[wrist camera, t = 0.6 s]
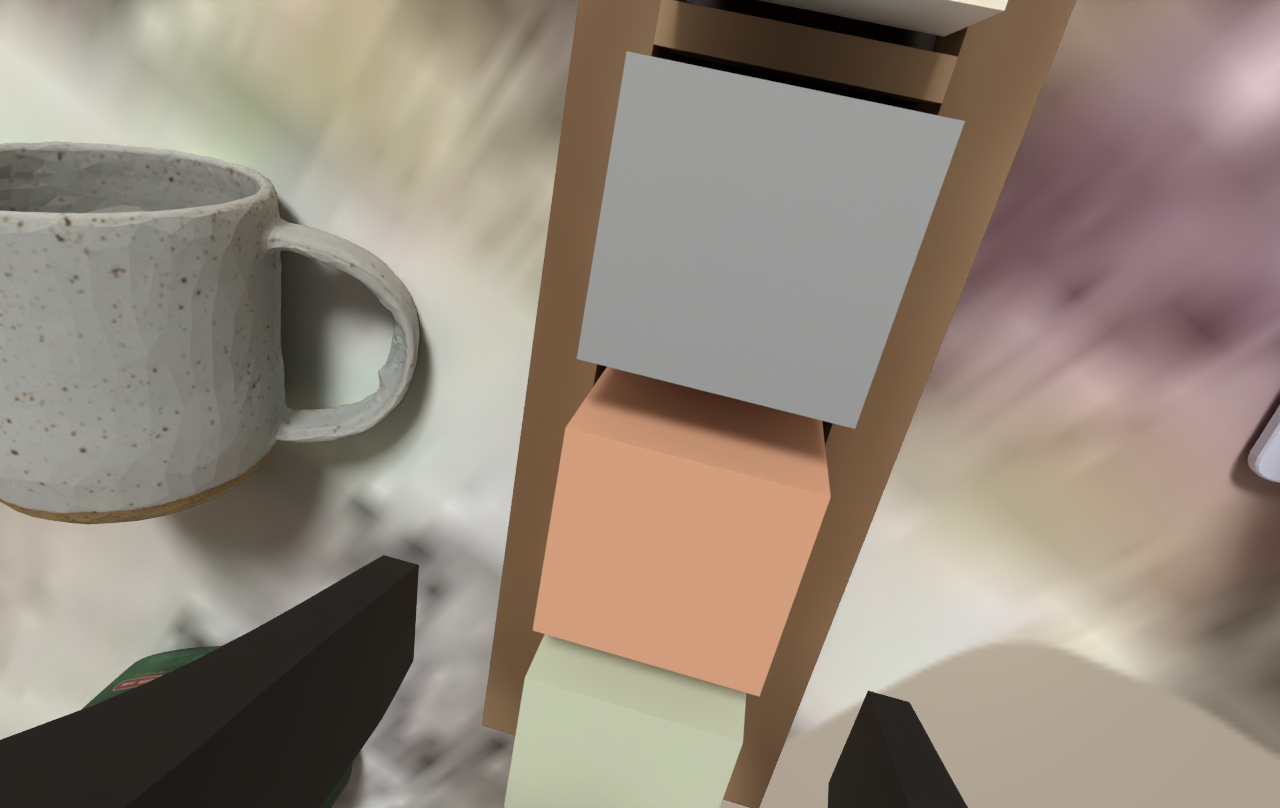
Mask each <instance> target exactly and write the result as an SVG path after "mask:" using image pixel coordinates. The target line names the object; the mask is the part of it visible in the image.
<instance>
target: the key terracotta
mask: <svg viewBox="0 0 1280 808" xmlns="http://www.w3.org/2000/svg"><path fill="white" fill-rule="evenodd" d="M830 498H831V495H830V486H829V477H828V468H827V460H826V451H825V442H824V433H823V424H822V420H818V419H814V418H810V417H806V416H802V415H798V414H794V413H790V412H786V411H782V410H778V409H774V408H770V407H766V406H762V405H758V404H754V403H750V402H746V401H742V400H738V399H734V398H730V397H726V396H722V395H718V394H714V393H710V392H706V391H702V390H698V389H694V388H690V387H686V386H682V385H678V384H674V383H671V382H667V381H663V380H659V379H655V378H651V377H647V376H643V375H639V374H635V373H631V372H627V371H623V370H619V369H615V368H611V367H607V368H606V369H605V371H604V372H603V374H602V375H601V376H600V378H599V379H598V381H597V382H596V384H595V385H594V387H593V388H592V390H591V391H590V393H589V394H588V395H587V397H586V398H585V400H584V401H583V403H582V404H581V406H580V407H579V409H578V410H577V412H576V413H575V414H574V416H573V417H572V419H571V420H570V422H569V423H568V425H567V426H566V428H565V434H564V440H563V446H562V452H561V458H560V464H559V471H558V477H557V483H556V489H555V495H554V501H553V508H552V514H551V520H550V526H549V532H548V538H547V544H546V551H545V557H544V563H543V569H542V575H541V581H540V588H539V594H538V600H537V606H536V612H535V618H534V624H533V631H536V632H540V633H543V634H546V635H550V636H553V637H557V638H560V639H564V640H567V641H570V642H574V643H577V644H581V645H584V646H588V647H591V648H594V649H598V650H601V651H605V652H608V653H612V654H615V655H618V656H622V657H625V658H629V659H632V660H636V661H639V662H642V663H646V664H649V665H653V666H656V667H660V668H663V669H666V670H670V671H673V672H677V673H680V674H684V675H687V676H690V677H694V678H697V679H701V680H704V681H708V682H711V683H714V684H718V685H721V686H725V687H728V688H732V689H735V690H738V691H742V692H745V693H749V694H752V695H756V696H760V694H761V691H762V688H763V685H764V682H765V680H766V677H767V674H768V671H769V668H770V666H771V663H772V660H773V657H774V654H775V652H776V649H777V646H778V643H779V640H780V638H781V635H782V632H783V629H784V626H785V624H786V621H787V618H788V615H789V612H790V610H791V607H792V604H793V601H794V598H795V596H796V593H797V590H798V587H799V584H800V582H801V579H802V576H803V573H804V570H805V568H806V565H807V562H808V559H809V557H810V554H811V551H812V548H813V545H814V543H815V540H816V537H817V534H818V531H819V529H820V526H821V523H822V520H823V517H824V515H825V512H826V509H827V506H828V503H829V501H830Z"/></svg>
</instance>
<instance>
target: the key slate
mask: <svg viewBox="0 0 1280 808" xmlns="http://www.w3.org/2000/svg"><path fill="white" fill-rule="evenodd" d="M964 123H965V121H962V120H957V119H952V118H947V117H943V116H938V115H933V114H928V113H923V112H918V111H914V110H909V109H904V108H899V107H894V106H889V105H885V104H880V103H875V102H870V101H865V100H860V99H855V98H851V97H846V96H841V95H836V94H831V93H826V92H822V91H817V90H812V89H807V88H802V87H797V86H792V85H788V84H783V83H778V82H773V81H768V80H763V79H759V78H754V77H749V76H744V75H739V74H734V73H730V72H725V71H720V70H715V69H710V68H705V67H700V66H696V65H691V64H686V63H681V62H676V61H671V60H667V59H662V58H657V57H652V56H647V55H642V54H637V53H633V52H628V51H627V52H626V58H625V65H624V71H623V77H622V83H621V89H620V95H619V102H618V108H617V114H616V120H615V126H614V132H613V138H612V145H611V151H610V157H609V163H608V169H607V175H606V182H605V188H604V194H603V200H602V206H601V212H600V218H599V225H598V231H597V237H596V243H595V249H594V255H593V261H592V268H591V274H590V280H589V286H588V292H587V298H586V305H585V311H584V317H583V323H582V329H581V335H580V341H579V348H578V354H577V359H579V360H583V361H587V362H591V363H595V364H599V365H603V366H607V367H611V368H615V369H619V370H623V371H627V372H631V373H635V374H639V375H643V376H647V377H651V378H655V379H659V380H663V381H667V382H671V383H674V384H678V385H682V386H686V387H690V388H694V389H698V390H702V391H706V392H710V393H714V394H718V395H722V396H726V397H730V398H734V399H738V400H742V401H746V402H750V403H754V404H758V405H762V406H766V407H770V408H774V409H778V410H782V411H786V412H790V413H794V414H798V415H802V416H806V417H810V418H814V419H818V420H822V421H826V422H830V423H834V424H838V425H842V426H846V427H850V428H854V429H855V428H856V425H857V422H858V419H859V417H860V414H861V411H862V408H863V405H864V403H865V400H866V397H867V394H868V391H869V389H870V386H871V383H872V380H873V377H874V375H875V372H876V369H877V366H878V363H879V361H880V358H881V355H882V352H883V349H884V347H885V344H886V341H887V338H888V335H889V333H890V330H891V327H892V324H893V321H894V319H895V316H896V313H897V310H898V307H899V305H900V302H901V299H902V296H903V293H904V291H905V288H906V285H907V282H908V279H909V277H910V274H911V271H912V268H913V265H914V263H915V260H916V257H917V254H918V251H919V249H920V246H921V243H922V240H923V237H924V235H925V232H926V229H927V226H928V223H929V221H930V218H931V215H932V212H933V209H934V207H935V204H936V201H937V198H938V195H939V193H940V190H941V187H942V184H943V181H944V179H945V176H946V173H947V170H948V167H949V165H950V162H951V159H952V156H953V153H954V151H955V148H956V145H957V142H958V139H959V137H960V134H961V131H962V128H963V125H964Z"/></svg>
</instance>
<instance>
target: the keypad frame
mask: <svg viewBox="0 0 1280 808" xmlns="http://www.w3.org/2000/svg"><path fill="white" fill-rule="evenodd" d="M1075 3H1076V0H1008V2H1007V5H1006V8H1005V11H1003V12H1000V13H998V14H996V15H993V16H991V17H989V18H986V19H984V20H982V21H980V22H977V23H975V24H973V25H970V26H968V27H966V28H963V29H961V30H959V31H956V32H954V33H952V34H949V35H947V36H945V37H943V36H938V37H937V40H936V43H935V46H934V49H933V52H932V51H927V50H922V49H917V48H912V47H907V46H902V45H896V44H891V43H886V42H881V41H876V40H871V39H866V38H861V37H856V36H851V35H846V34H841V33H836V32H831V31H826V30H821V29H816V28H811V27H806V26H801V25H795V24H790V23H785V22H780V21H775V20H770V19H765V18H760V17H755V16H750V15H745V14H740V13H735V12H730V11H725V10H720V9H715V8H710V7H705V6H700V5H694V4H689V3H685V0H579V2H578V9H577V17H576V24H575V32H574V39H573V47H572V54H571V62H570V69H569V77H568V84H567V92H566V99H565V107H564V114H563V122H562V129H561V137H560V144H559V152H558V159H557V167H556V174H555V182H554V189H553V197H552V204H551V212H550V219H549V227H548V234H547V242H546V250H545V257H544V265H543V272H542V280H541V287H540V295H539V302H538V310H537V317H536V325H535V332H534V340H533V347H532V355H531V362H530V370H529V377H528V385H527V392H526V400H525V407H524V415H523V422H522V430H521V437H520V445H519V452H518V460H517V467H516V475H515V482H514V490H513V497H512V505H511V512H510V520H509V527H508V535H507V542H506V550H505V557H504V565H503V572H502V580H501V587H500V595H499V602H498V610H497V617H496V625H495V632H494V640H493V647H492V655H491V662H490V670H489V677H488V685H487V692H486V700H485V707H484V715H483V722H482V725H483V726H486V727H489V728H493V729H496V730H499V731H502V732H506V733H509V734H512V735H516V729H517V723H518V717H519V711H520V704H521V698H522V692H523V686H524V680H525V676H526V674H527V672H528V670H529V667H530V665H531V663H532V661H533V659H534V657H535V654H536V652H537V650H538V648H539V646H540V643H541V641H542V639H543V637H544V635H545V634H543V633H540V632H536V631H533V624H534V618H535V612H536V606H537V600H538V594H539V588H540V581H541V575H542V569H543V563H544V557H545V551H546V544H547V538H548V532H549V526H550V520H551V514H552V508H553V501H554V495H555V489H556V483H557V477H558V471H559V464H560V458H561V452H562V446H563V440H564V434H565V428H566V426H567V425H568V423H569V422H570V420H571V419H572V417H573V416H574V414H575V413H576V412H577V410H578V409H579V407H580V406H581V404H582V403H583V401H584V400H585V398H586V397H587V395H588V394H589V393H590V391H591V390H592V388H593V387H594V385H595V384H596V382H597V381H598V379H599V378H600V376H601V375H602V374H603V372H604V371H605V369H606V368H607V366H603V365H599V364H595V363H591V362H587V361H583V360H579V359H577V354H578V348H579V341H580V335H581V329H582V323H583V317H584V311H585V305H586V298H587V292H588V286H589V280H590V274H591V268H592V261H593V255H594V249H595V243H596V237H597V231H598V225H599V218H600V212H601V206H602V200H603V194H604V188H605V182H606V175H607V169H608V163H609V157H610V151H611V145H612V138H613V132H614V126H615V120H616V114H617V108H618V102H619V95H620V89H621V83H622V77H623V71H624V65H625V58H626V52H627V51H628V52H633V53H637V54H642V55H647V56H652V57H657V58H662V59H667V60H671V61H674V58H675V54H677V55H681V56H686V57H691V58H696V59H701V60H706V61H711V62H715V63H720V64H725V65H730V66H735V67H740V68H745V69H750V70H754V71H759V72H764V73H769V74H774V75H779V76H784V77H788V78H793V79H798V80H803V81H808V82H813V83H818V84H823V85H827V86H832V87H837V88H842V89H847V90H852V91H857V92H861V93H866V94H871V95H876V96H881V97H886V98H891V99H896V100H900V101H905V102H910V103H915V107H914V111H918V112H923V113H928V114H933V115H938V116H943V117H947V118H952V119H957V120H962V121H965V123H964V125H963V128H962V131H961V134H960V137H959V139H958V142H957V145H956V148H955V151H954V153H953V156H952V159H951V162H950V165H949V167H948V170H947V173H946V176H945V179H944V181H943V184H942V187H941V190H940V193H939V195H938V198H937V201H936V204H935V207H934V209H933V212H932V215H931V218H930V221H929V223H928V226H927V229H926V232H925V235H924V237H923V240H922V243H921V246H920V249H919V251H918V254H917V257H916V260H915V263H914V265H913V268H912V271H911V274H910V277H909V279H908V282H907V285H906V288H905V291H904V293H903V296H902V299H901V302H900V305H899V307H898V310H897V313H896V316H895V319H894V321H893V324H892V327H891V330H890V333H889V335H888V338H887V341H886V344H885V347H884V349H883V352H882V355H881V358H880V361H879V363H878V366H877V369H876V372H875V375H874V377H873V380H872V383H871V386H870V389H869V391H868V394H867V397H866V400H865V403H864V405H863V408H862V411H861V414H860V417H859V419H858V422H857V425H856V428H855V429H854V428H850V427H846V426H842V425H838V424H834V423H830V422H826V421H822V424H823V433H824V442H825V451H826V460H827V468H828V477H829V486H830V495H831V498H830V501H829V503H828V506H827V509H826V512H825V515H824V517H823V520H822V523H821V526H820V529H819V531H818V534H817V537H816V540H815V543H814V545H813V548H812V551H811V554H810V557H809V559H808V562H807V565H806V568H805V570H804V573H803V576H802V579H801V582H800V584H799V587H798V590H797V593H796V596H795V598H794V601H793V604H792V607H791V610H790V612H789V615H788V618H787V621H786V624H785V626H784V629H783V632H782V635H781V638H780V640H779V643H778V646H777V649H776V652H775V654H774V657H773V660H772V663H771V666H770V668H769V671H768V674H767V677H766V680H765V682H764V685H763V688H762V691H761V694H760V696H756V695H752V694H749V693H746V705H745V720H744V734H743V744H742V747H741V750H740V752H739V755H738V758H737V761H736V764H735V766H734V769H733V772H732V775H731V778H730V780H729V783H728V786H727V789H726V792H725V794H724V797H723V799H724V800H727V801H730V802H733V803H737V804H740V805H743V806H747V807H750V808H759V807H760V804H761V802H762V799H763V797H764V794H765V791H766V789H767V786H768V784H769V781H770V779H771V776H772V774H773V771H774V769H775V766H776V764H777V761H778V759H779V756H780V753H781V751H782V748H783V746H784V743H785V741H786V738H787V736H788V733H789V731H790V728H791V725H792V723H793V720H794V718H795V715H796V713H797V710H798V708H799V705H800V703H801V700H802V697H803V695H804V692H805V690H806V687H807V685H808V682H809V680H810V677H811V675H812V672H813V669H814V667H815V664H816V662H817V659H818V657H819V654H820V652H821V649H822V647H823V644H824V641H825V639H826V636H827V634H828V631H829V629H830V626H831V624H832V621H833V619H834V616H835V613H836V611H837V608H838V606H839V603H840V601H841V598H842V596H843V593H844V591H845V588H846V585H847V583H848V580H849V578H850V575H851V573H852V570H853V568H854V565H855V563H856V560H857V557H858V555H859V552H860V550H861V547H862V545H863V542H864V540H865V537H866V535H867V532H868V529H869V527H870V524H871V522H872V519H873V517H874V514H875V512H876V509H877V507H878V504H879V501H880V499H881V496H882V494H883V491H884V489H885V486H886V484H887V481H888V479H889V476H890V473H891V471H892V468H893V466H894V463H895V461H896V458H897V456H898V453H899V451H900V448H901V445H902V443H903V440H904V438H905V435H906V433H907V430H908V428H909V425H910V423H911V420H912V417H913V415H914V412H915V410H916V407H917V405H918V402H919V400H920V397H921V395H922V392H923V389H924V387H925V384H926V382H927V379H928V377H929V374H930V372H931V369H932V367H933V364H934V361H935V359H936V356H937V354H938V351H939V349H940V346H941V344H942V341H943V339H944V336H945V333H946V331H947V328H948V326H949V323H950V321H951V318H952V316H953V313H954V311H955V308H956V305H957V303H958V300H959V298H960V295H961V293H962V290H963V288H964V285H965V283H966V280H967V277H968V275H969V272H970V270H971V267H972V265H973V262H974V260H975V257H976V255H977V252H978V249H979V247H980V244H981V242H982V239H983V237H984V234H985V232H986V229H987V227H988V224H989V221H990V219H991V216H992V214H993V211H994V209H995V206H996V204H997V201H998V199H999V196H1000V193H1001V191H1002V188H1003V186H1004V183H1005V181H1006V178H1007V176H1008V173H1009V171H1010V168H1011V165H1012V163H1013V160H1014V158H1015V155H1016V153H1017V150H1018V148H1019V145H1020V143H1021V140H1022V137H1023V135H1024V132H1025V130H1026V127H1027V125H1028V122H1029V120H1030V117H1031V115H1032V112H1033V109H1034V107H1035V104H1036V102H1037V99H1038V97H1039V94H1040V92H1041V89H1042V87H1043V84H1044V81H1045V79H1046V76H1047V74H1048V71H1049V69H1050V66H1051V64H1052V61H1053V59H1054V56H1055V53H1056V51H1057V48H1058V46H1059V43H1060V41H1061V38H1062V36H1063V33H1064V31H1065V28H1066V25H1067V23H1068V20H1069V18H1070V15H1071V13H1072V10H1073V8H1074V5H1075Z"/></svg>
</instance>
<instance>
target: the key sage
mask: <svg viewBox="0 0 1280 808" xmlns="http://www.w3.org/2000/svg"><path fill="white" fill-rule="evenodd" d="M745 705H746V693H745V692H742V691H738V690H735V689H732V688H728V687H725V686H721V685H718V684H714V683H711V682H708V681H704V680H701V679H697V678H694V677H690V676H687V675H684V674H680V673H677V672H673V671H670V670H666V669H663V668H660V667H656V666H653V665H649V664H646V663H642V662H639V661H636V660H632V659H629V658H625V657H622V656H618V655H615V654H612V653H608V652H605V651H601V650H598V649H594V648H591V647H588V646H584V645H581V644H577V643H574V642H570V641H567V640H564V639H560V638H557V637H553V636H550V635H546V634H545V635H544V637H543V639H542V641H541V643H540V646H539V648H538V650H537V652H536V654H535V657H534V659H533V661H532V663H531V665H530V667H529V670H528V672H527V674H526V676H525V680H524V686H523V692H522V698H521V704H520V711H519V717H518V723H517V729H516V735H515V741H514V747H513V754H512V760H511V766H510V772H509V778H508V784H507V791H506V797H505V803H504V808H720V805H721V803H722V800H723V797H724V794H725V792H726V789H727V786H728V783H729V780H730V778H731V775H732V772H733V769H734V766H735V764H736V761H737V758H738V755H739V752H740V750H741V747H742V744H743V734H744V720H745Z"/></svg>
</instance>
